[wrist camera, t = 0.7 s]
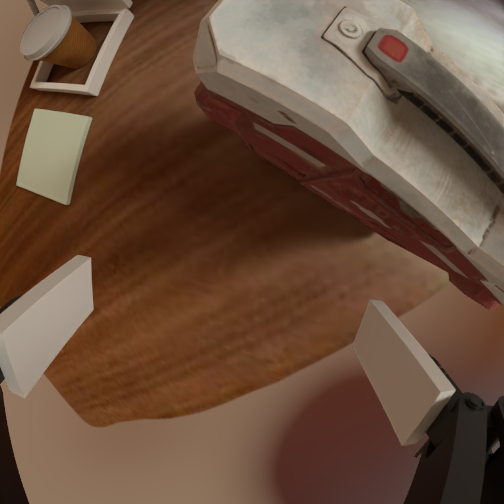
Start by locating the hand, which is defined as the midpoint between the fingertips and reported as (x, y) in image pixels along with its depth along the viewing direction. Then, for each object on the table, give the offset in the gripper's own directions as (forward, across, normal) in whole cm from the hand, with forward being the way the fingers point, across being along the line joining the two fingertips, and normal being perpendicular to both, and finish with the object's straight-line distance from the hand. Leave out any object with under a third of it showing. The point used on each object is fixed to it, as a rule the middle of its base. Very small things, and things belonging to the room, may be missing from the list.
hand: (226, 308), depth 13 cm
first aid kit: (+26, +11, +7) cm, 29 cm away
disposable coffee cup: (+32, -30, +22) cm, 50 cm away
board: (+31, -32, +4) cm, 45 cm away
